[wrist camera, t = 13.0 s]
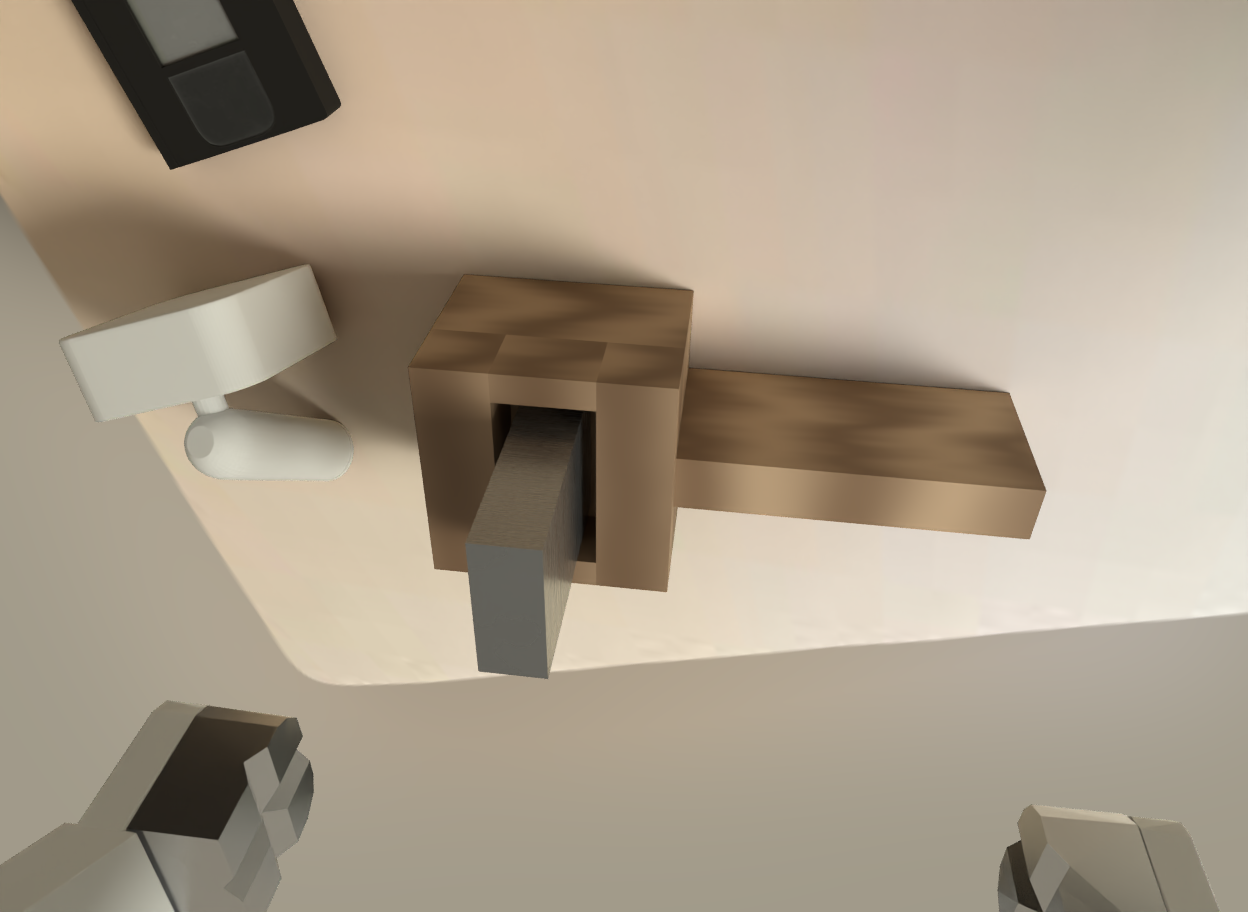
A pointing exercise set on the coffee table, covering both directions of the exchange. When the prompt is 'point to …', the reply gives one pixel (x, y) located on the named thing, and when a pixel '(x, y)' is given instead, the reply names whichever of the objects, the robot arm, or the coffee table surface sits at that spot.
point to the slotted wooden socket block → (694, 429)
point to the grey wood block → (529, 540)
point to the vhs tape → (212, 70)
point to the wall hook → (219, 374)
